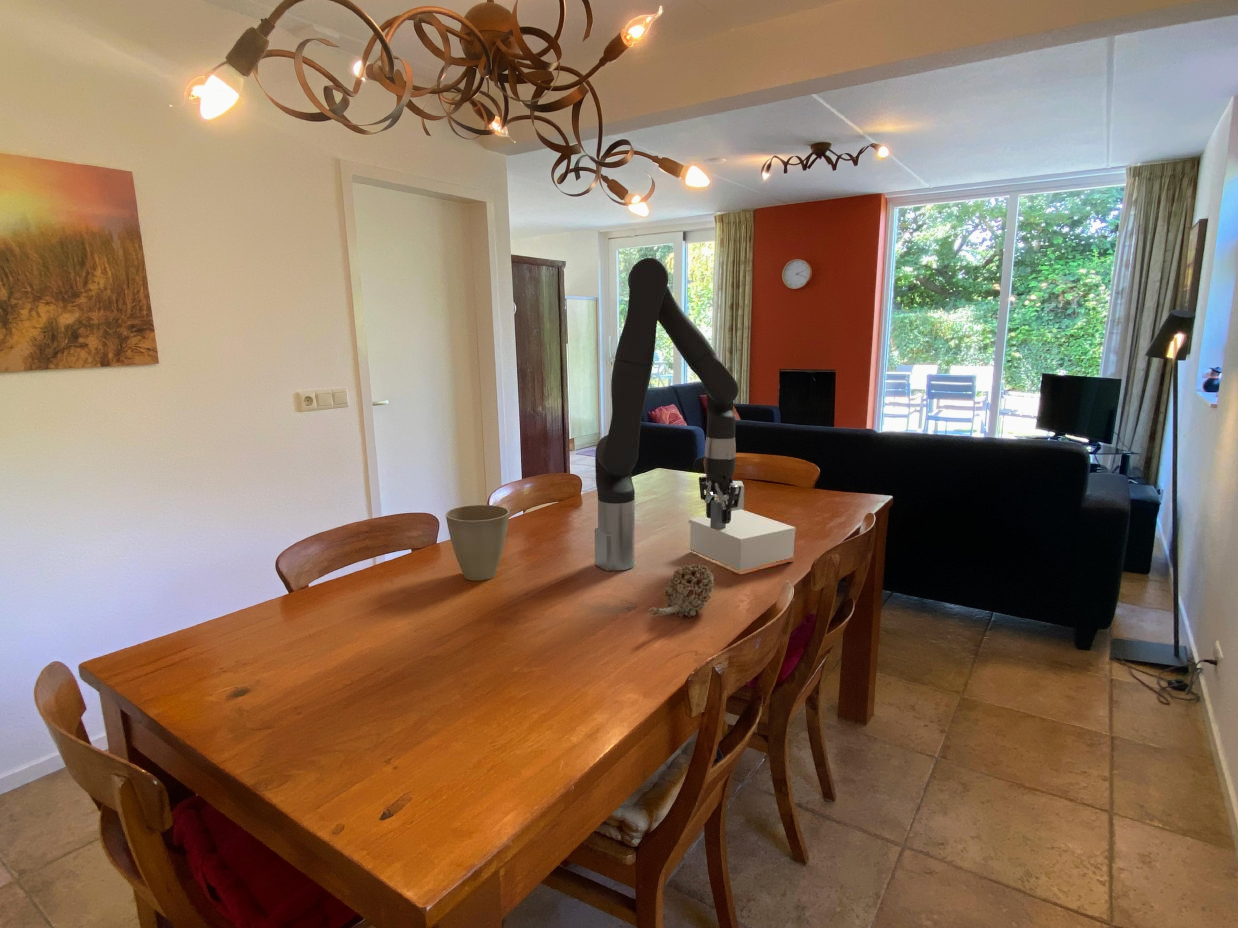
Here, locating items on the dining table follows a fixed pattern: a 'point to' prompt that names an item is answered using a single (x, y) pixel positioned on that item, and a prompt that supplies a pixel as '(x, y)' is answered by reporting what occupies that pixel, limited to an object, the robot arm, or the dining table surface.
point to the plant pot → (478, 538)
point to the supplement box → (741, 499)
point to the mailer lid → (741, 525)
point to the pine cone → (687, 591)
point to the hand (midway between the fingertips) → (718, 520)
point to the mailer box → (741, 549)
